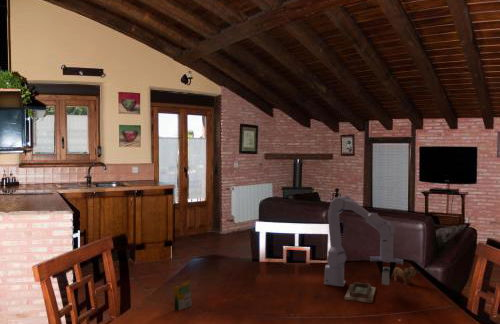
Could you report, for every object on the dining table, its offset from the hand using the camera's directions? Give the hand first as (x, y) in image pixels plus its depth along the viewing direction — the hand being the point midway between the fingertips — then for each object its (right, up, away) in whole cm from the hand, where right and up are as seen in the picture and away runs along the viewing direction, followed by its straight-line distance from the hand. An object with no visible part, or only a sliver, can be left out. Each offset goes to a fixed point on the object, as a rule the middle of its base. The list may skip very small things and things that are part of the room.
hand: (386, 277), depth 195 cm
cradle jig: (-11, -8, +2) cm, 14 cm away
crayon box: (-92, -9, -15) cm, 93 cm away
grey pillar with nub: (0, -2, 0) cm, 2 cm away
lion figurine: (+15, -8, +19) cm, 26 cm away
